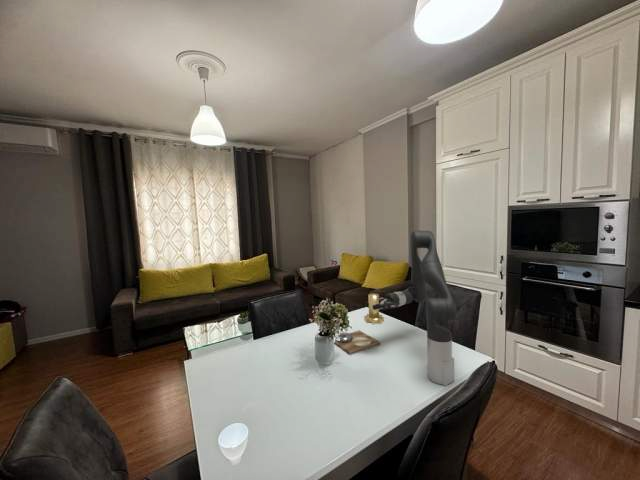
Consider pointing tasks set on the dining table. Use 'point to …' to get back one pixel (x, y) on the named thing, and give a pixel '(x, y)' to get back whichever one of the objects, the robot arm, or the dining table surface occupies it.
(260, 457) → the dining table surface
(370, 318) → the cylinder
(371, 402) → the dining table surface
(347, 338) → the gear
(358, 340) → the gear board
